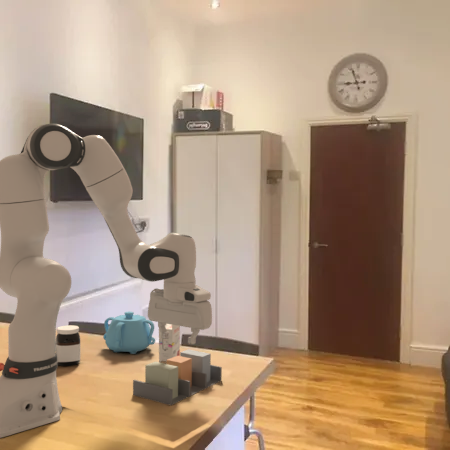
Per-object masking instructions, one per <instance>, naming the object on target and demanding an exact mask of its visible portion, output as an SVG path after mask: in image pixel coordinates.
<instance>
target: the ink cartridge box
mask: <svg viewBox="0 0 450 450" xmlns="http://www.w3.org/2000/svg"><path fill="white" fill-rule="evenodd" d="M165 327H166V330H167V332H169V338H167V339H163V338H161V331H160V329H159V328H158V362H159V363H162V362H167V359H170V358H173V357H175V356H180V352H181V350H180V347H181V346H180V345H181V343H180V342H181V340H180V339H181V337H180V335H181V334H180V333H181V329H180V328H181V326H178V325H172V324H167V323H166V325H165Z"/></svg>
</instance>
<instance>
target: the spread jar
mask: <svg viewBox="0 0 450 450" xmlns="http://www.w3.org/2000/svg"><path fill="white" fill-rule="evenodd" d="M56 331H57V332H56V346H55V353H56V354H57V366H59V367H72V366H76V365H78V364H79V363H80V362H81V336H80V333H79V332H80V327H79V326H78V325H73V324H72V325H61V326H58V327H56Z"/></svg>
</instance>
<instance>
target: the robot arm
mask: <svg viewBox="0 0 450 450" xmlns="http://www.w3.org/2000/svg"><path fill="white" fill-rule="evenodd" d="M67 168H71V169H72V170H74V172H76V174H77V175H78V176H79V178H80V180H81V182H82V184H83V186H84V188H85V190H86V192H87V193H88V196H89V197H90V198H91V200H92V202H93V203H94V204H95V206H96V207H97V209H98V210H99V212H100V213H101V215H102V217H103V218H104V221H105V223H106V226H107V228H108V229H109V231H110V234H111V236H112V237H113V240H114V242H115V244H116V246H117V248H118V252H119V253H118V255H119V256H118V257H119V264H120V268H121V269H122V271H123V272H124V274H125V275H127V276H128V277H130V278H134V279H140V280H142V281H147V282H151V283H152V282H158V281H159V282H160V281H163V288H157V287H156V288H153V289H152V290H151V291H150V293H149V303H148V308H147V318H148V320H150V321H152V322H155V323H157V327H158V330H159V329H160V331H161V338H163V339H167V338H169V332H167V330H166V327H165V325H166V323H167V324H172V325H178V326H180V327H184V328H190V331H191V332H192V333H191V335H190V336H188V337H187V344H189V345H196V342H197V336H198V335H199V334H200V330H201V331H204V330H207V329H210V328H211V326H212V321H213V314H212V313H213V312H212V311H213V310H212V309H213V308H212V304H211V302H210V300H211V297H212V296H211V295H212V294H211V292H209V291H208V290H206V289H204V288H203V287H200V286H198V285H197V284H196V276H195V270H196V267H197V248H196V247H197V246H196V241H195V240H194V238H193V237H192V236H190V235H187V234H185V233H177V232H168V233H167V235H165V236H164V237H163V238H161V239H159V240H158V241H156V242H153V243H151V244H147V243H146V242H144V241H143V240H141V238H140V237H139V235H138V233H137V231H136V228H135V227H134V225H133V222H132V220H131V217H130V216H129V212H128V206H129V203H130V202H131V199H132V197H133V192H134V191H133V186H132V182H131V179H130V177H129V175H128V173H127V170H126V169H125V167H124V164H122V161H121V160H120V158H119V156H118V155H117V153H116V152H115V150H114V149H113V148H112V146H111V145H110V143H109V142H108V141H107V140H106V138H104V137H103V136H101V135H98V134H97V135H96V134H91V135H86V136H84V137H81V136H80V135H78V134H76V133H75V132H73V131H72V130H71V129H69V128H68V127H67V126H63V125H61V124H59V123H44V124H41V125H39V126H37V127H35V128H34V129H33V130H32V131H31V132H30V134H29V135H28V136H27V138H26V139H25V142H24V144H23V147H22V149H21V151H20V153H18V154H11V155H8V156H5V157H4V158H2V159H1V160H0V235H1V236H0V289H1V290H2V291H3V292H4V293H5V294H7V295H8V296H10V297H13V298H15V299H16V300H17V303H16V310H15V313H14V315H13V316H14V317H13V319H12V321H11V322H10V323H9V325H8V330H7V331H8V334H7V335H8V339H7V340H8V341H7V343H8V351H7V352H8V356H7V357H6V361H5V363H3V362H0V372H1V375H0V439H1V438H4V437H8V436H11V435H15V434H17V433H20V432H21V433H22V432H25V431H27V430H31V429H34V428H38V427H41V426H44V425H47V424H49V423H53V422H58V421H59V420H60V419H61V413H62V411H63V406H62V402H61V399H60V393H59V388H58V380H57V370H58V365H57V354H56V352H55V346H56V336H57V332H56V331H57V321H58V315H59V313H60V312H59V311H60V310H61V309H60V308H61V305H62V302H63V301H64V300H65V298H66V297H67V296H68V294H69V293H70V291H71V288H72V278H71V273H70V272H69V270H68V269H67V268H66V266H63V265H62V264H60V262H58V261H56V260H53V259H50V258H46V257H44V244H45V239H46V236H47V235H48V234H49V231H50V223H49V217H48V210H47V208H48V207H47V200H46V193H45V189H44V188H45V187H44V186H45V183H44V182H45V176H46V175H47V173H48V172H49V171H56V170H62V169H67Z"/></svg>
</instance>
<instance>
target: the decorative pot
mask: <svg viewBox="0 0 450 450" xmlns="http://www.w3.org/2000/svg"><path fill="white" fill-rule="evenodd" d="M109 321H110V324H109ZM103 325H104V329H105V333H104V334H103V339H104V340H105V345H106V347H107V349H109V350H111V351H112V352H113V353H120V352H122V353H123V352H125V353H126V352H127V353H129V354H130V355H136V354H138V352H140V351H144V350H145V349H147V348H149V346H150V345H151V346H152V345H155V343H156V338H154V337H153V335H154V331H155V324H154V321H150V320H149V319H147V318H146V316H144V315H140V314H134V311H125V312H124V314H121V315H118V316H115V317H114V316H110V317H108V318H106V319H105V320H104V323H103Z"/></svg>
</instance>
